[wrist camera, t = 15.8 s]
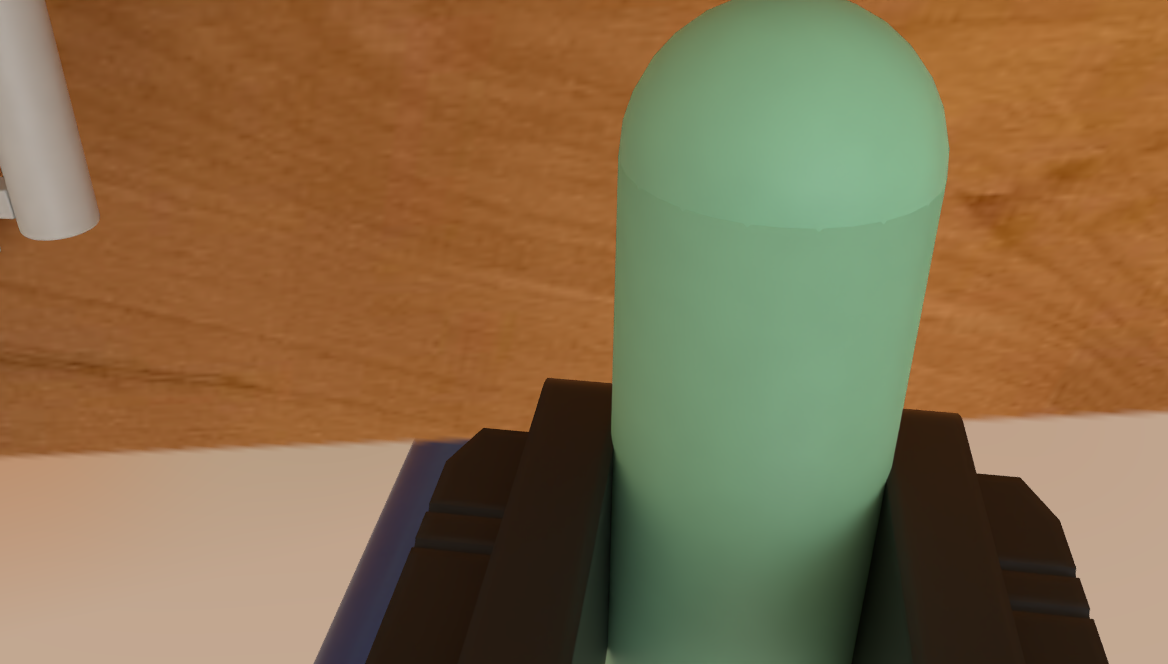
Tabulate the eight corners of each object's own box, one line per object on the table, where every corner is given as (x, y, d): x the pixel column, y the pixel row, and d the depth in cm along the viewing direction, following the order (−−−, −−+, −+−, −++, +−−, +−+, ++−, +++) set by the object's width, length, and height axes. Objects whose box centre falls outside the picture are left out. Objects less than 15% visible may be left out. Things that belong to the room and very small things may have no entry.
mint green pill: (806, 787, 12) (815, 985, 11) (611, 763, 13) (587, 953, 11) (950, -38, 8) (1011, 56, 6) (639, -50, 8) (603, 35, 6)
